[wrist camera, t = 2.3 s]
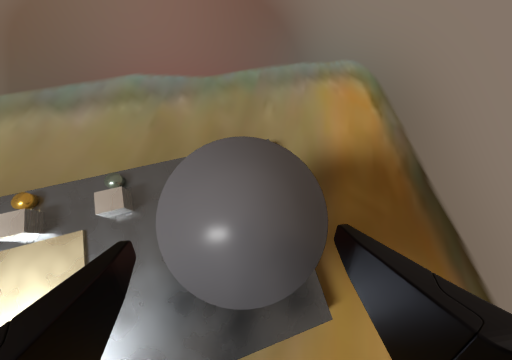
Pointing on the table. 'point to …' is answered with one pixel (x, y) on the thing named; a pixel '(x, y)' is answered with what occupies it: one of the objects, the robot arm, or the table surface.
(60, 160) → the table surface
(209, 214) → the post
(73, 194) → the breaker panel
